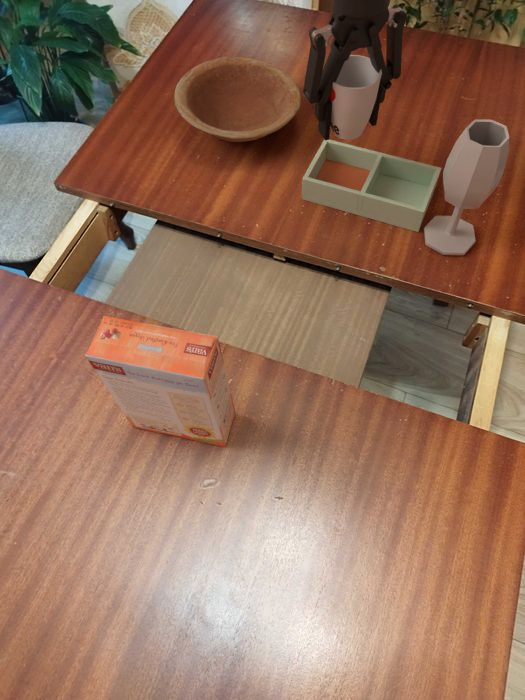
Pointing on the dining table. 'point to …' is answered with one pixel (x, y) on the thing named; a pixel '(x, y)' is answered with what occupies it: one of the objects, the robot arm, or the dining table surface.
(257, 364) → the dining table surface
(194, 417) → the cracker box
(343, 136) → the cup
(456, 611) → the dining table surface
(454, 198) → the wineglass
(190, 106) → the bowl
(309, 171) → the divided tray
